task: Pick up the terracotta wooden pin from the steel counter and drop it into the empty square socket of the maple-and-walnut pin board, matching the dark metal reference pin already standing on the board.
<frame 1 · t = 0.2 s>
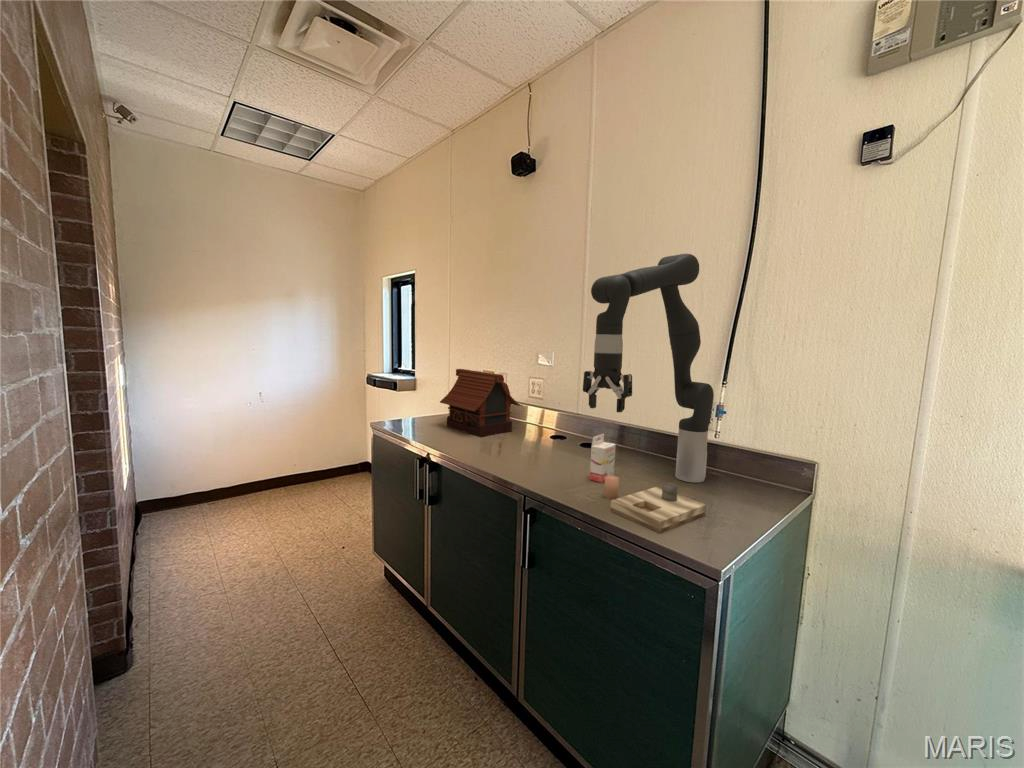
hand: (605, 410, 119), 28 cm above the counter, fingers open, 8 cm apart
pin board: (657, 512, 118), on the counter
terracotta pin: (611, 496, 129), on the counter
ink cartridge box: (602, 479, 146), on the counter
house: (477, 429, 216), on the counter
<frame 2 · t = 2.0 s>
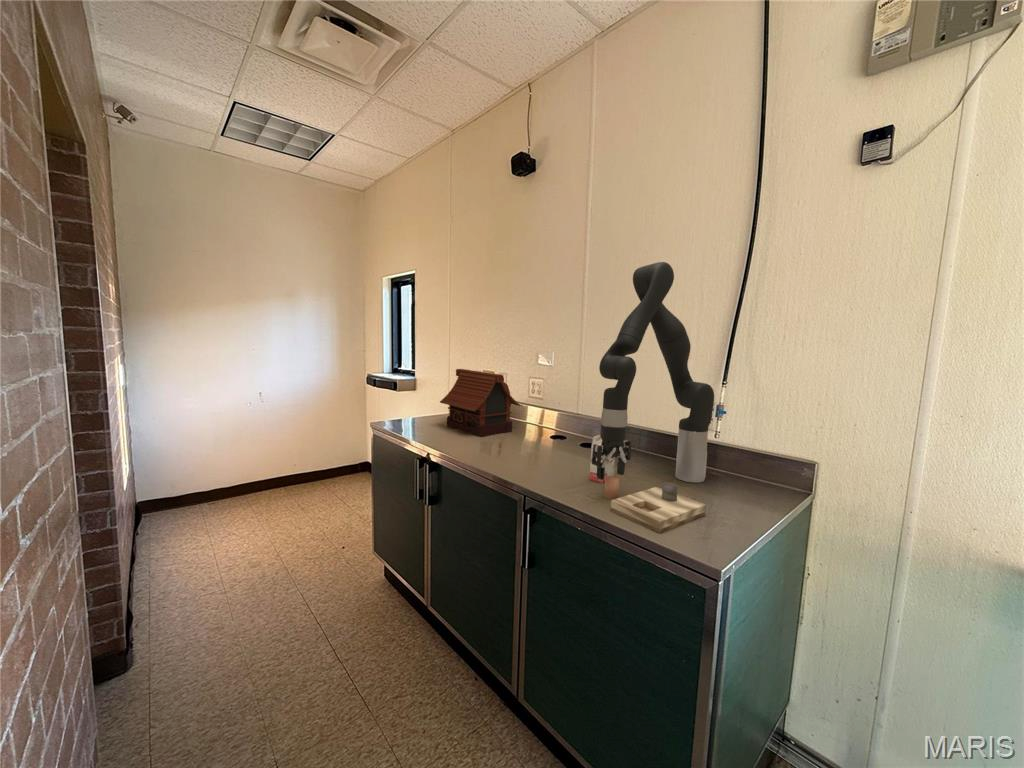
hand: (610, 476, 129), 6 cm above the counter, fingers open, 8 cm apart
nothing on the counter moved.
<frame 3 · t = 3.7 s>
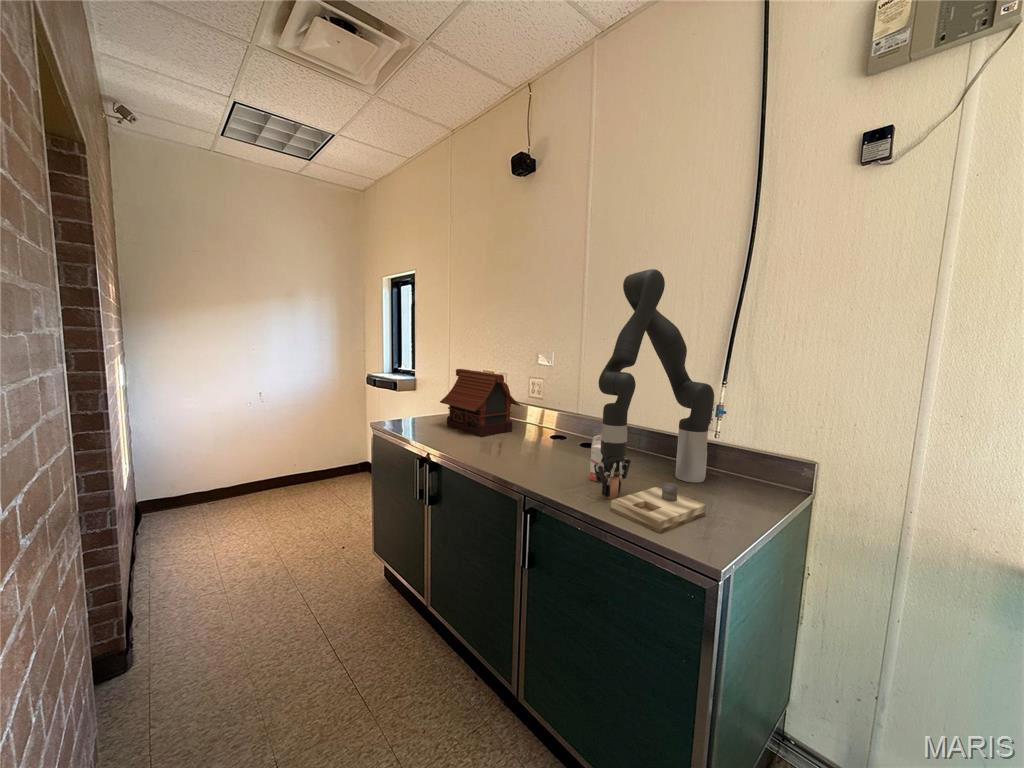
hand: (611, 494, 129), 1 cm above the counter, fingers closed on terracotta pin, 4 cm apart
terracotta pin: (611, 496, 129), on the counter, touching gripper
everything else where it was.
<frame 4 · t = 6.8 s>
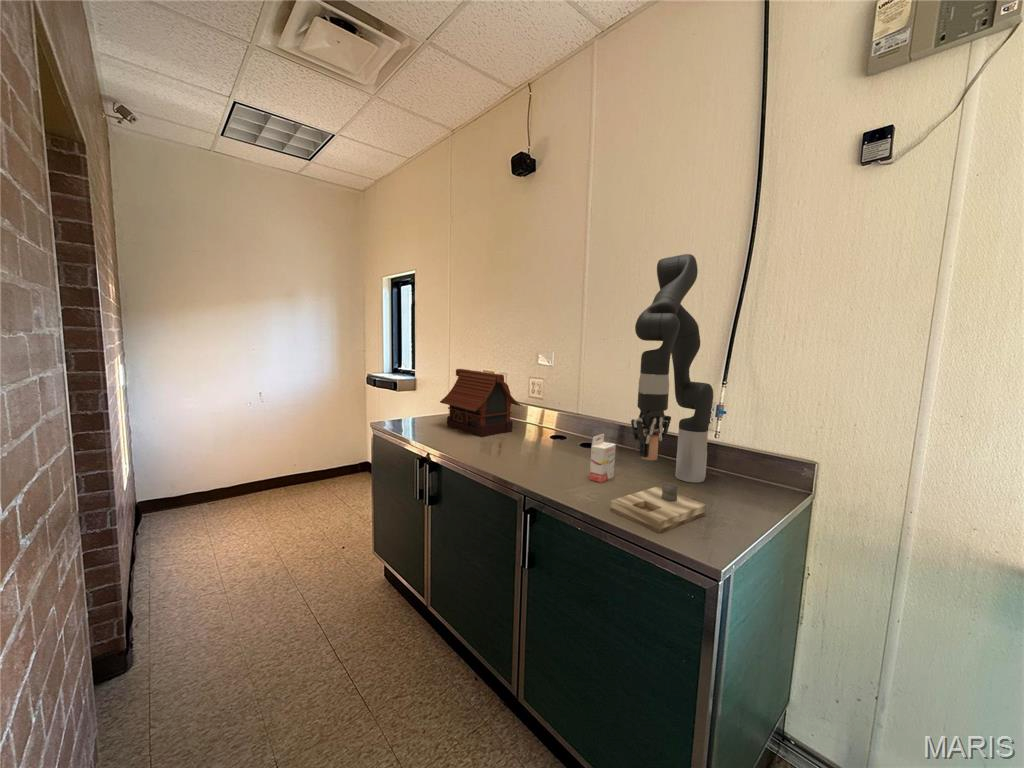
hand: (649, 455, 113), 17 cm above the counter, fingers closed on terracotta pin, 4 cm apart
terracotta pin: (649, 458, 114), point 16 cm above the counter, touching gripper
everything else where it was.
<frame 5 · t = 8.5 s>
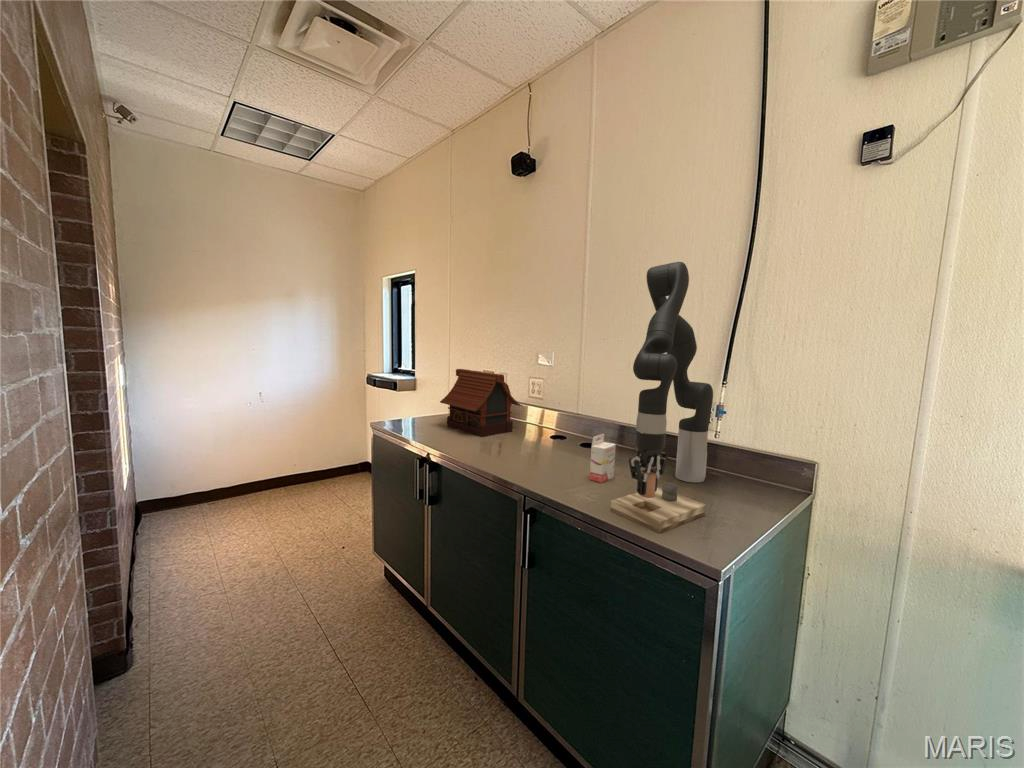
hand: (646, 492, 115), 7 cm above the counter, fingers closed on terracotta pin, 4 cm apart
terracotta pin: (646, 495, 115), point 6 cm above the counter, touching gripper
everything else where it was.
when the fingers open (4 cm above the counter, at t = 9.9 s): terracotta pin drops 2 cm, resting on pin board.
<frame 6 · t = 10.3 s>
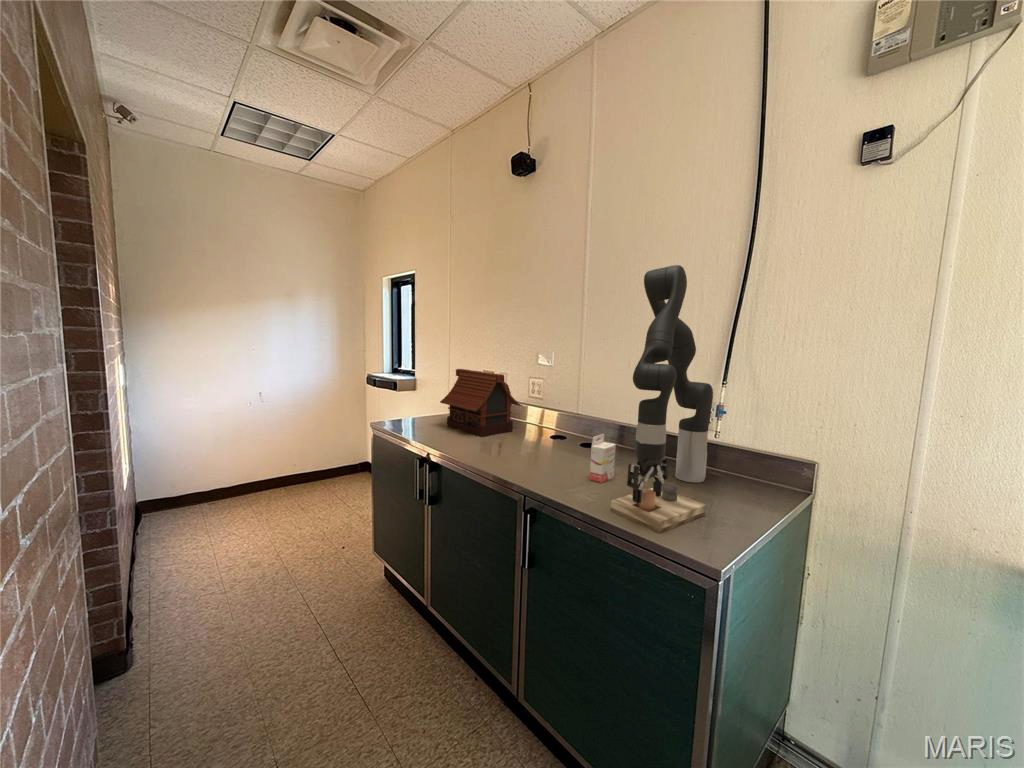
hand: (647, 498, 115), 5 cm above the counter, fingers open, 8 cm apart
terracotta pin: (646, 513, 115), point 1 cm above the counter, touching pin board
everything else where it was.
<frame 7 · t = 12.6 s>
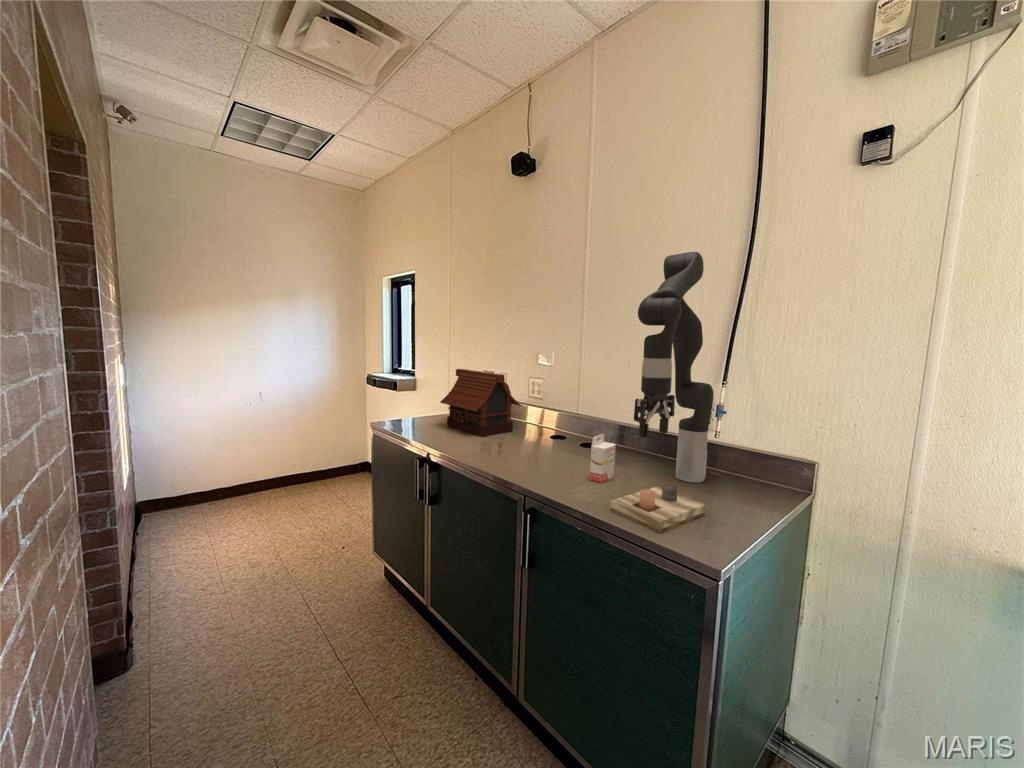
hand: (653, 434, 115), 22 cm above the counter, fingers open, 8 cm apart
nothing on the counter moved.
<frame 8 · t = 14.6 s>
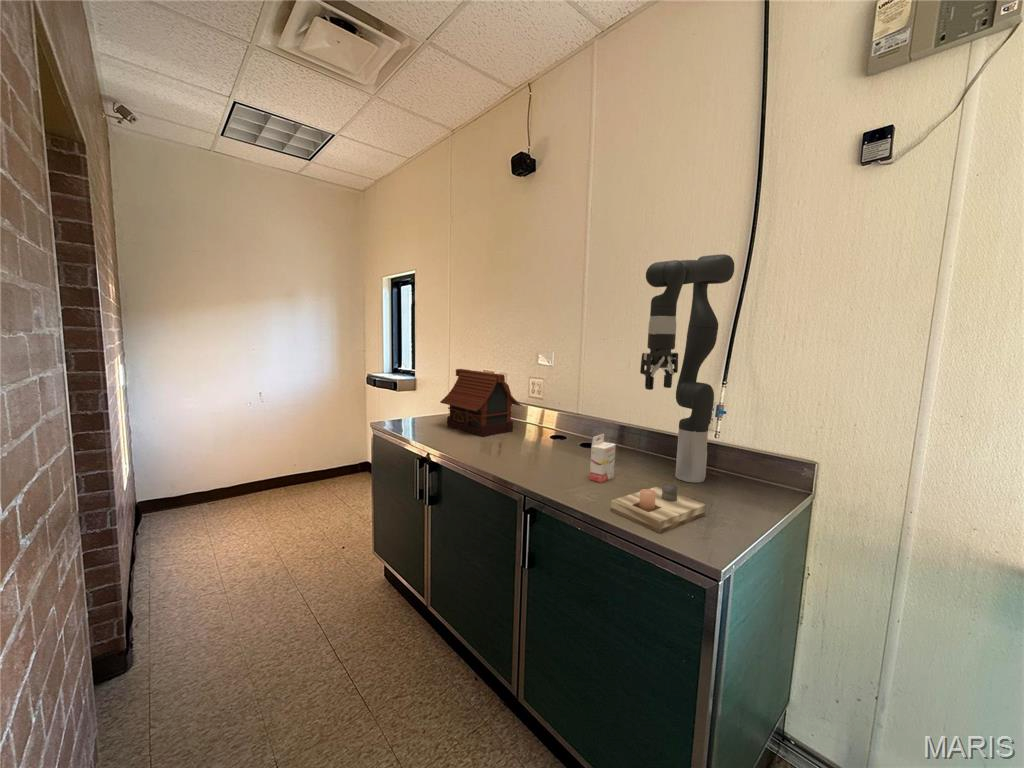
hand: (658, 388, 125), 33 cm above the counter, fingers open, 8 cm apart
nothing on the counter moved.
at the end: terracotta pin 0.1 cm from the target spot on the pin board, point 1.0 cm above the pin board's base; terracotta pin tilted 1°; the gripper is holding nothing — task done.
